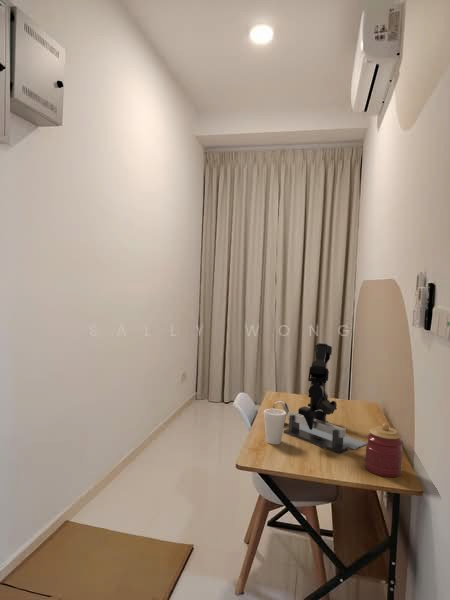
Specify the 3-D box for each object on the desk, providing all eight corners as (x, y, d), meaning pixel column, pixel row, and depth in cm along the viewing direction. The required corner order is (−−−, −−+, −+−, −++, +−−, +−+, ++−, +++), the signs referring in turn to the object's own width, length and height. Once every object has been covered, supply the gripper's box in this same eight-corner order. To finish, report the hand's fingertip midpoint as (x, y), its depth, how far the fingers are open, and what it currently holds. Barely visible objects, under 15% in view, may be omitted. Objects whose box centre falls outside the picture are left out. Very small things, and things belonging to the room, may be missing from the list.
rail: (292, 418, 189) (292, 411, 189) (345, 436, 169) (345, 428, 169) (288, 419, 187) (288, 412, 187) (341, 437, 166) (341, 430, 166)
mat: (307, 423, 201) (307, 422, 201) (366, 444, 177) (367, 443, 177) (293, 428, 194) (293, 427, 194) (353, 449, 170) (353, 448, 170)
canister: (371, 459, 161) (374, 415, 160) (405, 470, 152) (408, 424, 152) (359, 469, 151) (362, 423, 150) (395, 481, 142) (398, 432, 142)
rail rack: (293, 429, 191) (294, 412, 191) (348, 449, 170) (349, 429, 169) (283, 432, 186) (284, 414, 186) (338, 453, 165) (340, 433, 165)
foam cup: (287, 440, 176) (289, 411, 176) (279, 447, 168) (281, 416, 168) (267, 436, 181) (269, 407, 181) (258, 442, 173) (260, 412, 173)
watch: (287, 426, 195) (288, 404, 195) (271, 424, 198) (272, 402, 197) (288, 423, 201) (290, 401, 201) (272, 420, 203) (273, 399, 203)
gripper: (320, 400, 165) (318, 438, 166) (344, 394, 178) (342, 429, 178) (298, 394, 174) (296, 430, 174) (323, 389, 186) (321, 422, 186)
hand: (315, 428), depth 178 cm, fingers open, 6 cm apart
